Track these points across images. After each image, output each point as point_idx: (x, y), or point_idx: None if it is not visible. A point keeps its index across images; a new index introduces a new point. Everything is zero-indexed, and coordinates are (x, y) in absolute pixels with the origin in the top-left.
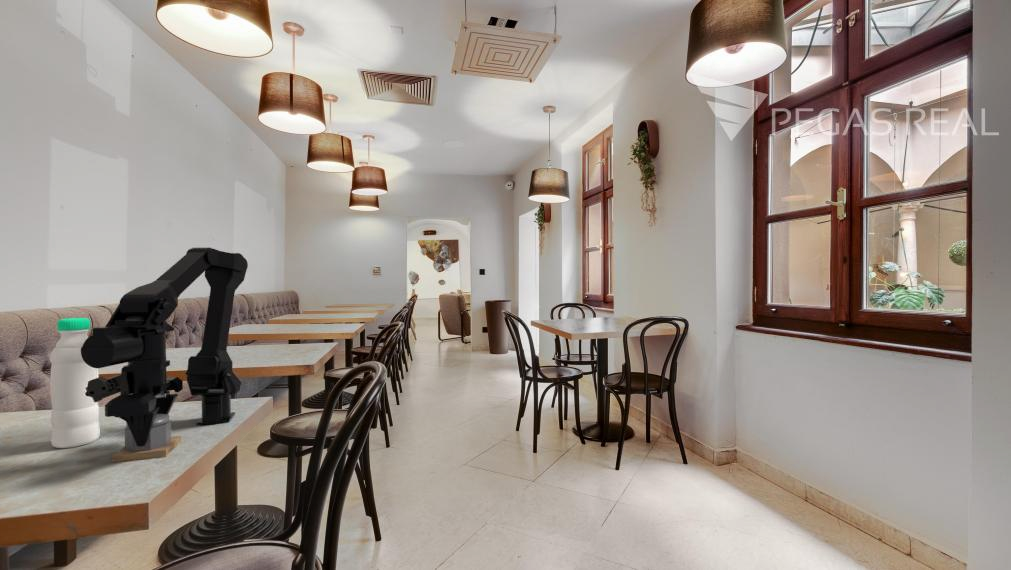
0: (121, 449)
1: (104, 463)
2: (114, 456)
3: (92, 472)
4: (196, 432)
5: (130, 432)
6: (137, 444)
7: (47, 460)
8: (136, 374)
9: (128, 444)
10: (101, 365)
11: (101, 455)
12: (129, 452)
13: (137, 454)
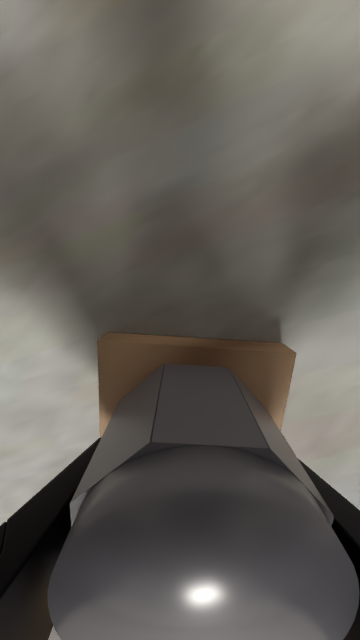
0: (176, 348)
1: (110, 305)
2: (99, 345)
3: (20, 298)
4: (351, 503)
5: (96, 469)
6: (94, 445)
7: (266, 4)
8: None
9: (137, 397)
10: None
11: (223, 256)
12: (118, 390)
13: (101, 416)
